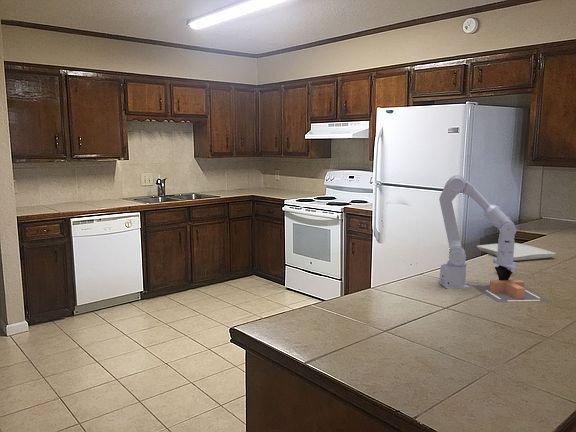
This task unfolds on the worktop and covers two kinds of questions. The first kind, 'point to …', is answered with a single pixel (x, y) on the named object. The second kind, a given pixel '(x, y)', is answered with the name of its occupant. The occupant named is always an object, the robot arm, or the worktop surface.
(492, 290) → the t block
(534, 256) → the square plate
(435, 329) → the worktop surface
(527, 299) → the mat
